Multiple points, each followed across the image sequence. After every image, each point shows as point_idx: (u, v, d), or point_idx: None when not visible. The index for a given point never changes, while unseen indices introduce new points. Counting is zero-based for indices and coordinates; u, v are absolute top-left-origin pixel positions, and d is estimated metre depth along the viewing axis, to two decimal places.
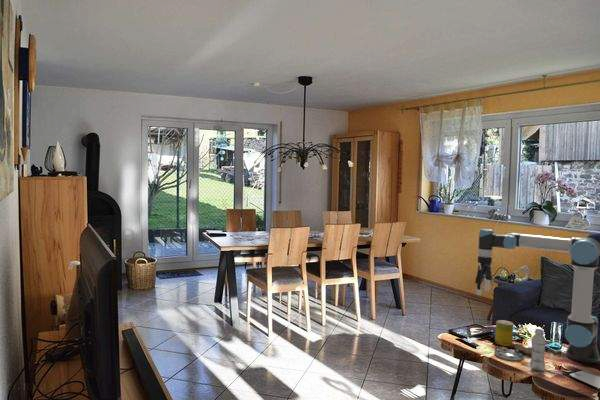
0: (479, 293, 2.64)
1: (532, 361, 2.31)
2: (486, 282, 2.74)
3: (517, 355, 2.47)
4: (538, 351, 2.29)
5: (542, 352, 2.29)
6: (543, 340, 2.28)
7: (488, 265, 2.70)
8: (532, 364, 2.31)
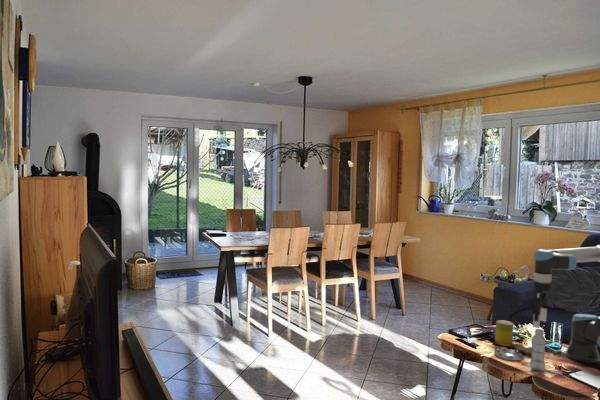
0: (536, 325, 2.25)
1: (532, 361, 2.31)
2: (542, 311, 2.35)
3: (517, 355, 2.47)
4: (538, 351, 2.29)
5: (542, 352, 2.29)
6: (543, 340, 2.28)
7: (545, 292, 2.32)
8: (532, 364, 2.31)
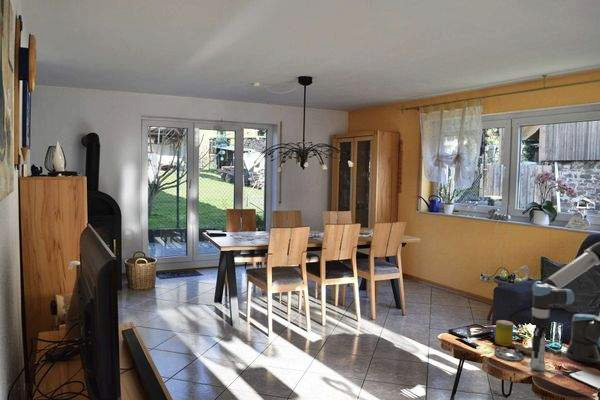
0: (536, 362, 2.29)
1: (532, 361, 2.31)
2: None
3: (517, 355, 2.47)
4: None
5: (542, 352, 2.29)
6: (543, 340, 2.28)
7: (543, 326, 2.33)
8: (532, 364, 2.31)
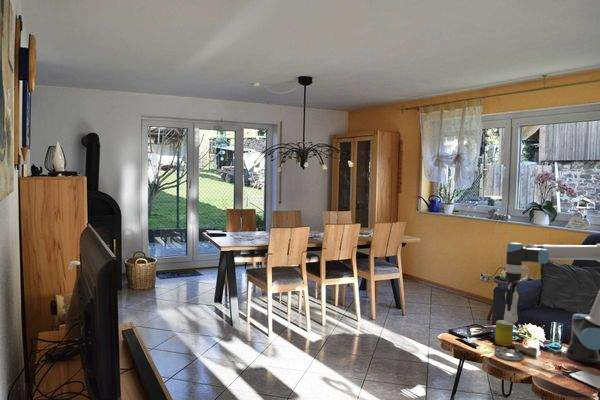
0: (509, 315, 2.45)
1: (505, 314, 2.47)
2: None
3: (517, 355, 2.47)
4: None
5: (515, 305, 2.45)
6: (515, 294, 2.45)
7: (516, 282, 2.49)
8: (505, 317, 2.47)
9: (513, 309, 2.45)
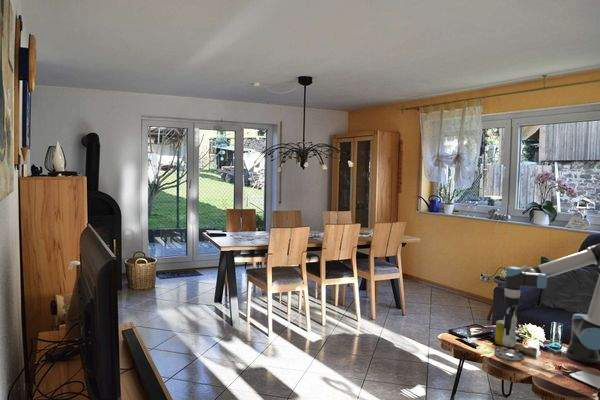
0: (508, 339, 2.45)
1: (504, 338, 2.48)
2: None
3: (517, 355, 2.47)
4: None
5: (513, 329, 2.46)
6: (514, 318, 2.45)
7: (515, 306, 2.49)
8: (504, 341, 2.48)
9: (512, 333, 2.46)
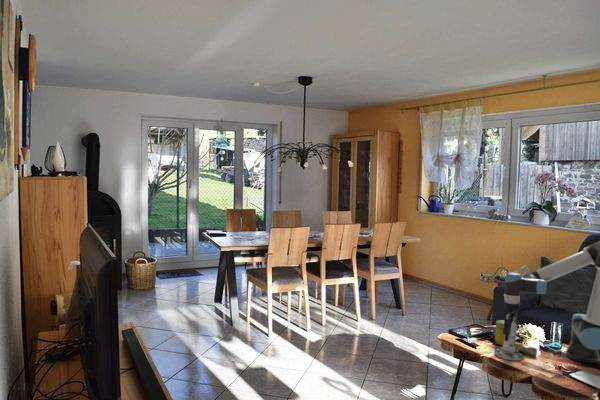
0: (507, 345, 2.44)
1: None
2: None
3: (517, 355, 2.47)
4: None
5: (513, 337, 2.46)
6: (514, 326, 2.46)
7: (515, 312, 2.50)
8: (504, 348, 2.48)
9: (512, 341, 2.46)
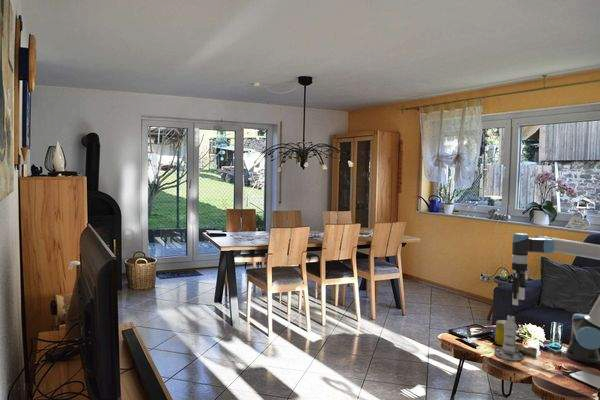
0: (515, 303, 2.43)
1: (504, 345, 2.48)
2: (520, 290, 2.54)
3: (517, 355, 2.47)
4: (509, 336, 2.46)
5: (513, 337, 2.46)
6: (514, 325, 2.46)
7: (523, 272, 2.50)
8: (504, 348, 2.48)
9: (512, 340, 2.46)
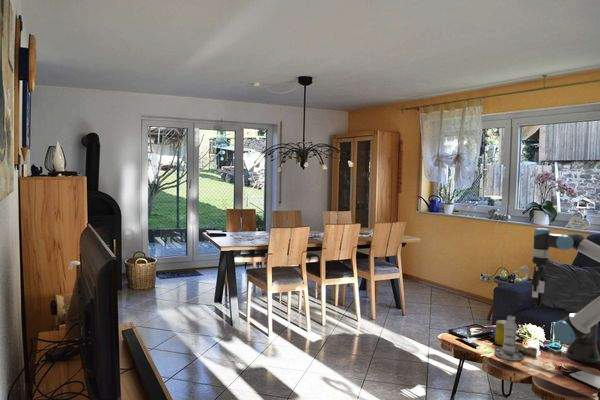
0: (535, 295, 2.52)
1: (504, 345, 2.48)
2: (540, 284, 2.62)
3: (517, 355, 2.47)
4: (509, 336, 2.46)
5: (513, 337, 2.46)
6: (514, 326, 2.46)
7: (543, 266, 2.58)
8: (504, 348, 2.48)
9: (512, 341, 2.46)
